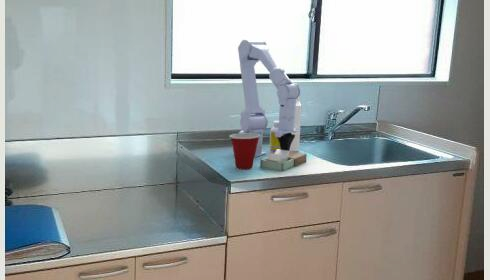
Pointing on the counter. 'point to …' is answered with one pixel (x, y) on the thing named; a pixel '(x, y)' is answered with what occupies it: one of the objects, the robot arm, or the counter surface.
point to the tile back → (283, 154)
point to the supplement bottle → (274, 138)
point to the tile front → (274, 158)
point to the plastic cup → (244, 149)
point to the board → (297, 158)
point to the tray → (276, 164)
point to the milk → (295, 143)
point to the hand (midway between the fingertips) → (284, 153)
